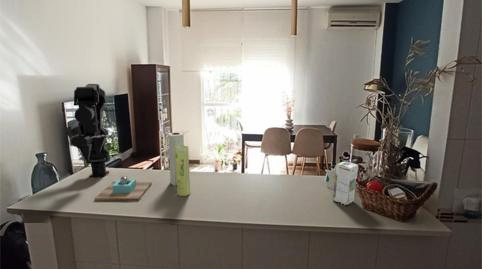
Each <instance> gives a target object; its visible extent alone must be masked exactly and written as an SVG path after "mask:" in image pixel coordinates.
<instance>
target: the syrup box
mask: <svg viewBox="0 0 482 269" xmlns="http://www.w3.org/2000/svg"><path fill="white" fill-rule="evenodd" d="M358 171H359V164H356V163H354V162H350V161H349V162H348V161H341V162H339V163H337V164H336V166H335V174H334V186H333V196H332V201H333V200H336V201H338V202H341V203H344V204H349V203H350V202H352V201H354V202H355V198H356V197H355V196H356V189H357V181H356V179H358Z"/></svg>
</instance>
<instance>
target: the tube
mask: <svg viewBox="0 0 482 269" xmlns="http://www.w3.org/2000/svg"><path fill="white" fill-rule="evenodd" d="M175 155H176V176H177V185H176V192H177V195H178V196H180V197H186V196H189V195H190V194H191V181H190V180H191V179H190V162H189V161H190V159H189V158H190V157H189V146H188V145H187V146H186V145H184V146H183V145H179V144H175Z"/></svg>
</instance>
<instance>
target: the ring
mask: <svg viewBox="0 0 482 269" xmlns="http://www.w3.org/2000/svg"><path fill="white" fill-rule="evenodd" d="M127 179H128V185H127V184H121V178H119V179H118V180H117V181H115V182H116V183H115V184H113V185H112V188H113V193H131V192H132V191H133V190H134V189H135V187H136V182H137V179H131V178H130V179H129V178H127Z"/></svg>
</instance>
